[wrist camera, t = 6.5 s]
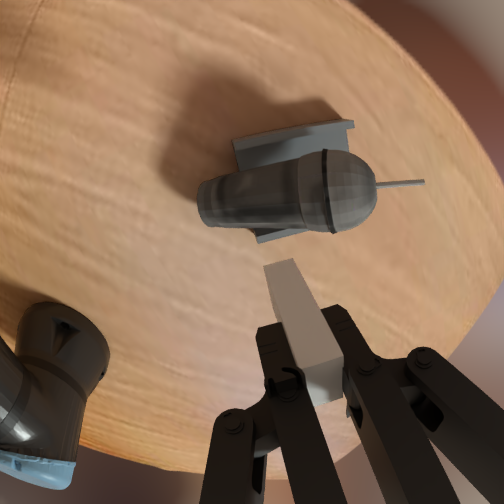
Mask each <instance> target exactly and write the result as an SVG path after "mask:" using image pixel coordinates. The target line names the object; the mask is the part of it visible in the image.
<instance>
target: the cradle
mask: <svg viewBox="0 0 504 504" xmlns="http://www.w3.org/2000/svg"><path fill="white" fill-rule="evenodd" d="M352 128H355V126H354V120H348V119H338V120H331V121H324V122H317V123H311V124H305V125H300V126H294V127H289V128H284V129H278V130H273V131H269V132H264V133H259V134H255V135H250V136H246V137H242V138H237V139H233V140H232V143H233V147H234V151H235V156H236V160H237V164H238V168H239V172H240V171H243V170H248V169H252V168H256V167H260V166H264V165H268V164H273V163H277V162H282V161H286V160H291V159H296V158H300V157H301V156H302V155H306V154H309V153H312V152H317V151H322V150H323V148H324V149H328V150H342V151H346V152H349V146H348V139H347V132H346V129H352ZM253 231H254V235H255V237H256V240H257V243H258V244H260V243H263V242H267V241H271V240H275V239H279V238H282V237H286V236H290V235H294V234H298V233H301V232H305V231H309V230H308V229H276V228H253Z"/></svg>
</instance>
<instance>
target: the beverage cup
mask: <svg viewBox="0 0 504 504" xmlns="http://www.w3.org/2000/svg"><path fill="white" fill-rule="evenodd" d="M417 185H425V181H424V179H421V180H406V181H392V182H380V183H376V181H375V175H374V173H373V171H372V170H371V168H370V167H369V166H368V165H367V163H365V162H364V161H363V160H362V159H361V158H359V157H358V156H356V155H354V154H352V153H349V152H346V151H342V150H328V149H324V148H323V150H322V151H317V152H312V153H309V154H306V155H302V156H301V157H300V158H296V159H291V160H286V161H282V162H277V163H273V164H268V165H264V166H260V167H256V168H252V169H248V170H243V171H240V172H236V173H232V174H228V175H224V176H220V177H218V178H215V179H212V180H210V181H205V182H203V183H202V184H201V185H200V187H199V189H198V194H197V206H198V212H199V214H200V217H201V219H202V221H203V222H204V224H206V225H207V226H208V227H224V228H276V229H308V230H310V231H318V232H331V233H332V234H334V233H337V232H340V231H346V230H349V229H352V228H354V227H356V226H358V225H359V224H361V223H362V222H364V221H365V220H366V219H367V218H368V217H369V215H370V214H371V213H372V211H373V209H374V207H375V205H376V202H377V190H376V189H379V188H391V187H404V186H417Z"/></svg>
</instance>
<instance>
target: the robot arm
mask: <svg viewBox="0 0 504 504" xmlns="http://www.w3.org/2000/svg"><path fill="white" fill-rule="evenodd" d="M263 267H264V271H265V276H266V280H267V284H268V289H269V293H270V297H271V302H272V306H273V310H274V313H275V316H276V319H277V322H278V323H274V324H271V325H267V326H263V327H259V328H258V330H257V334H256V337H255V338H256V342H257V347H258V351H259V355H260V360H261V364H262V368H263V373H264V377H265V379H264V386H265V389H266V392H265V394H264V396H263V398H262V399H261V400H260V401H259V402H257V403H256V404H255V405H253V406H251V407H249V408H247V409H246V410H243V409H237V408H234V409H228V410H226V411H224V412H222V413H221V414H220V415H219V416H218V417H217V418H216V420H215V423H214V426H213V432H212V437H211V442H210V448H209V453H208V458H207V464H206V469H205V475H204V480H203V486H202V491H201V497H200V502H199V504H263V502H264V491H265V478H266V465H267V453H269V452H271V451H273V450H274V449H276V448H278V447H281V451H282V455H283V459H284V463H285V467H286V471H287V475H288V479H289V483H290V486H291V490H292V494H293V498H294V502H295V504H347V501H346V498H345V495H344V492H343V489H342V487H341V483H340V480H339V478H338V475H337V472H336V469H335V466H334V463H333V460H332V457H331V455H330V452H329V449H328V446H327V443H326V440H325V437H324V435H323V432H322V429H321V426H320V423H319V420H318V418H317V415H316V412H315V409H314V407H315V406H318V405H322V404H325V403H328V402H331V401H334V400H337V399H340V398H343V392H344V394H345V397H346V399H347V408H346V415H347V418H348V417H350V416H351V418H352V421H353V423H354V426H355V428H356V430H357V433H358V435H359V437H360V440H361V442H362V444H363V447H364V450H365V452H366V454H367V457H368V459H369V462H370V464H371V467H372V469H373V472H374V474H375V476H376V479H377V481H378V484H379V487H380V489H381V491H382V494H383V497H384V499H385V502H386V504H460V501H459V499H458V497H457V495H456V493H455V491H454V489H453V487H452V485H451V482H450V480H449V478H448V476H447V475H446V472H445V471H444V468H443V466H442V465H441V462H440V461H439V458H438V457H437V455H436V453H435V451H434V449H433V447H432V445H431V443H430V441H429V439H430V440H431V441H432V442H433V444H434V445H435V446H436V447H437V448H438V449H439V450H440V451H441V452H442V453H443V454H444V455H445V456H446V457H447V458H448V459H449V460H450V461H451V463H452V464H454V466H455V467H456V468H457V469H458V470H459V471H460V472H461V473H462V474H463V475H464V476H465V477H466V478H467V479H468V480H469V482H470V483H471V484H472V485H473V486H474V487H475V488H476V489H477V490H478V491H479V492H480V493H481V494H482V495H483V496H484V497H485V498H486V499H487V500H488V501H489V503H490V504H504V410H503V409H502V408H501V407H500V406H499V405H498V404H496V403H495V402H494V401H493V400H492V399H491V398H490V397H488V395H486V394H485V393H484V392H483V391H482V390H481V389H479V388H478V387H477V386H476V385H475V384H474V383H473V382H471V381H470V380H469V379H468V378H467V377H466V376H464V375H463V374H462V373H461V372H460V371H459V370H458V369H456V368H455V367H454V366H453V365H452V364H451V363H449V362H448V361H447V360H446V359H445V358H443V357H442V356H441V355H440V354H439V353H437V352H436V351H435V350H433V349H431V348H428V347H417V348H415V349H413V350H412V351H411V352H410V353H409V354H408V357H407V358H399V359H384V358H381V357H380V356H378V355H376V354H374V353H373V352H372V351H371V349H370V348H369V346H368V344H367V343H366V341H365V339H364V338H363V336H362V334H361V333H360V331H359V329H358V328H357V327H356V324H355V323H354V321H353V320H352V318H351V316H350V315H349V313H348V312H347V310H346V309H344V308H343V307H341V306H340V305H338V304H336V305H333V306H330V307H327V308H323V309H320V308H319V306H318V304H317V303H316V301H315V299H314V297H313V295H312V293H311V291H310V289H309V287H308V286H307V284H306V282H305V280H304V278H303V276H302V274H301V273H300V271H299V269H298V267H297V265H296V263H295V261H294V260H293V258H291V259H288V260H284V261H280V262H276V263H273V264H269V265H265V266H263ZM109 360H110V351H109V347H108V344H107V342H106V340H105V338H104V336H103V335H102V333H101V332H100V331H99V330H98V328H97V327H96V326H95V325H94V324H93V323H92V322H91V321H89V320H88V319H87V318H86V317H84V316H83V315H81V314H80V313H78V312H76V311H75V310H73V309H71V308H68V307H66V306H63V305H60V304H56V303H50V302H42V303H37V304H34V305H32V306H31V307H29V308H28V309H27V311H26V312H25V314H24V315H23V317H22V318H21V320H20V322H19V325H18V333H17V338H16V344H15V352H14V353H13V351H12V350H11V349H10V348H9V346H8V345H7V344H6V343H5V341H4V340H3V339H2V337H1V336H0V470H1V471H2V472H5V473H7V474H9V475H11V476H13V477H16V478H18V479H21V480H24V481H26V482H29V483H32V484H35V485H39V486H42V487H46V488H50V489H65V488H66V487H68V486H69V484H70V483H71V478H72V474H73V469H74V466H76V457H77V450H78V444H79V438H80V432H81V427H82V421H83V416H84V411H85V406H86V402H87V399H88V397H89V396H90V394H91V393H92V392H93V390H94V389H95V387H96V386H97V384H98V383H99V381H100V380H101V379H102V378H103V377H104V375H105V373H106V371H107V367H108V363H109ZM428 438H429V439H428Z"/></svg>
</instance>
